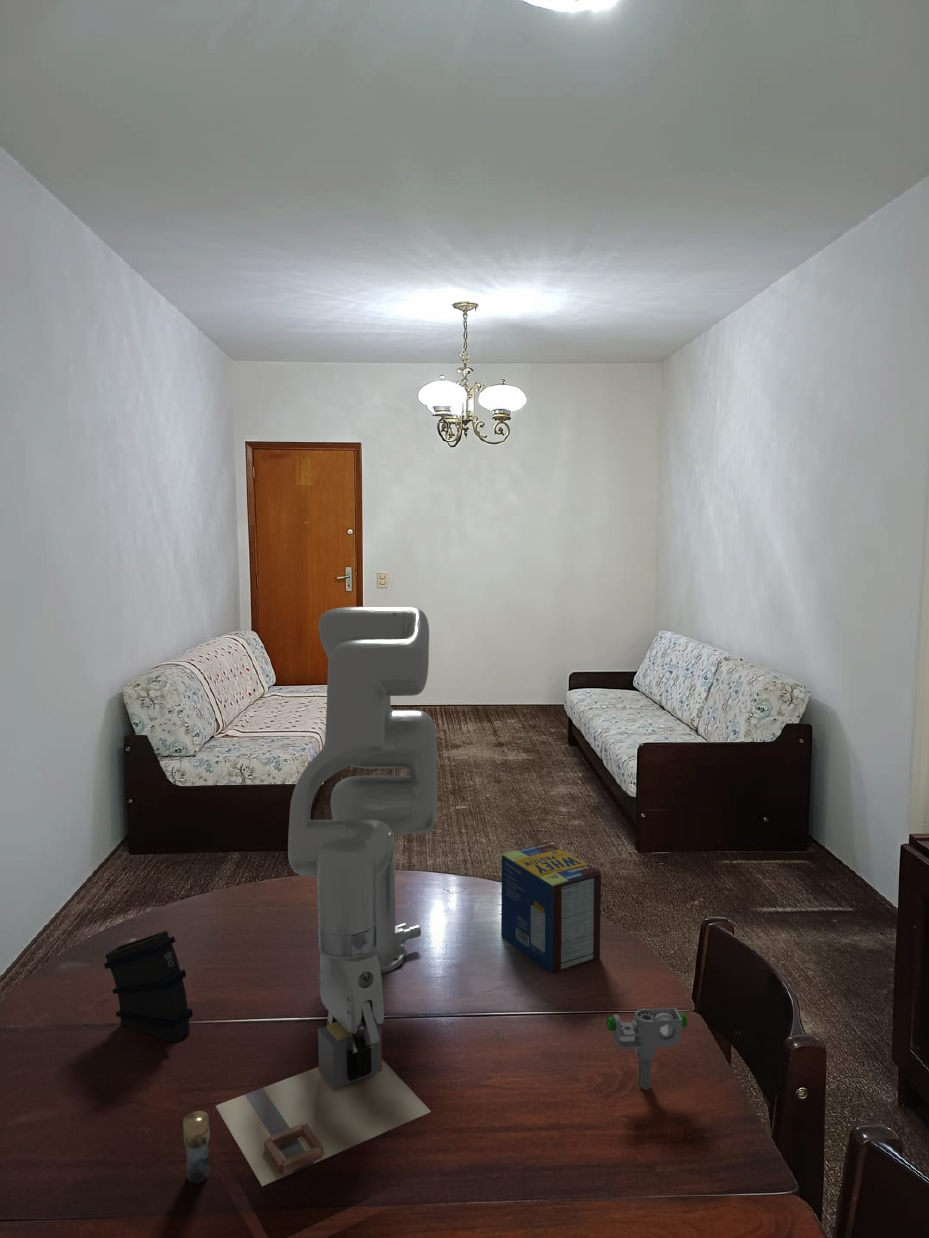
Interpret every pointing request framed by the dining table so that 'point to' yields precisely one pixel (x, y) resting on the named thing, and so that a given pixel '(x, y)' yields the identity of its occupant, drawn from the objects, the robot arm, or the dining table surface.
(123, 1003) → the magazine
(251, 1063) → the dining table surface
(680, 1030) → the mechanical component
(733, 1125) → the dining table surface
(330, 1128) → the board
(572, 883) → the protein box
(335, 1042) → the grey boxy piece
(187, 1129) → the gold capped bottle
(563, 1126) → the dining table surface
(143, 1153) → the dining table surface
